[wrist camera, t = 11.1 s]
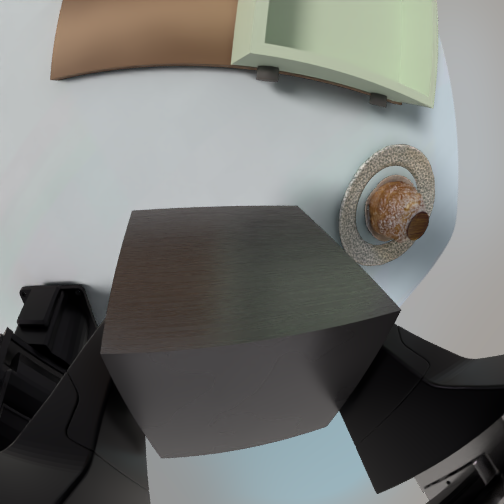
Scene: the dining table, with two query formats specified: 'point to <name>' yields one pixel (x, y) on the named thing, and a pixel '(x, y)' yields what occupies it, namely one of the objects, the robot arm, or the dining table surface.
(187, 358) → the block
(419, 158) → the pastry
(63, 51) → the track
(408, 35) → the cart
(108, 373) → the robot arm
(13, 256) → the dining table surface
